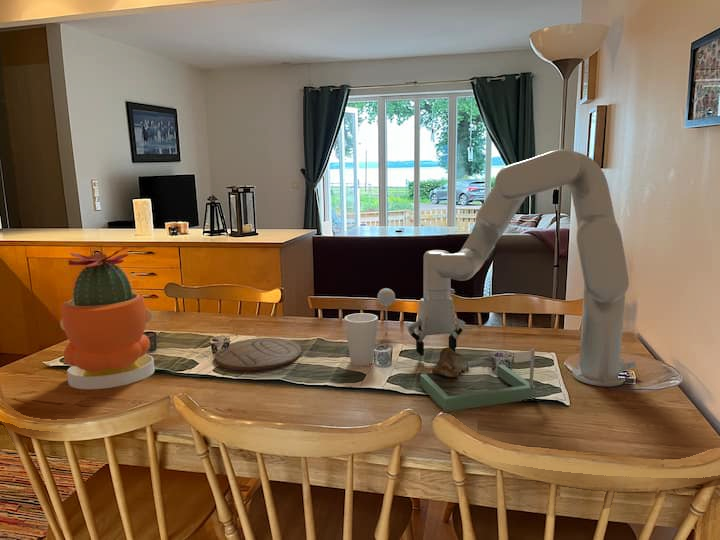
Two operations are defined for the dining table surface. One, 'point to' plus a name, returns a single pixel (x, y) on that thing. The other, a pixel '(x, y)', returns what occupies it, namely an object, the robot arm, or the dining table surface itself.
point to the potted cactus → (105, 327)
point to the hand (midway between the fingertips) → (436, 352)
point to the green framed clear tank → (490, 397)
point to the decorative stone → (450, 363)
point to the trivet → (258, 354)
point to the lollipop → (386, 299)
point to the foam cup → (361, 337)
